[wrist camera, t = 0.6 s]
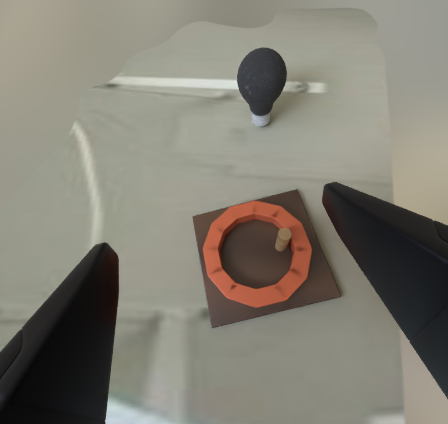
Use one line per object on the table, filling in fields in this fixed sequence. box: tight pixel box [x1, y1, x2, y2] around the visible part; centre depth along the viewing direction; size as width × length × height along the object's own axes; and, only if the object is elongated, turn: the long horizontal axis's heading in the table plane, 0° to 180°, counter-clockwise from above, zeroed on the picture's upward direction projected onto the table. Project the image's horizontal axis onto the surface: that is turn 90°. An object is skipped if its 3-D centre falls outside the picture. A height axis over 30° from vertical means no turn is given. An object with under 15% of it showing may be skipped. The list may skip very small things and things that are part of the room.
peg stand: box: [193, 190, 341, 328], centre depth 23 cm, size 12×13×5 cm
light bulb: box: [237, 48, 287, 126], centre depth 28 cm, size 6×6×10 cm
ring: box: [203, 201, 312, 308], centre depth 24 cm, size 11×11×2 cm
